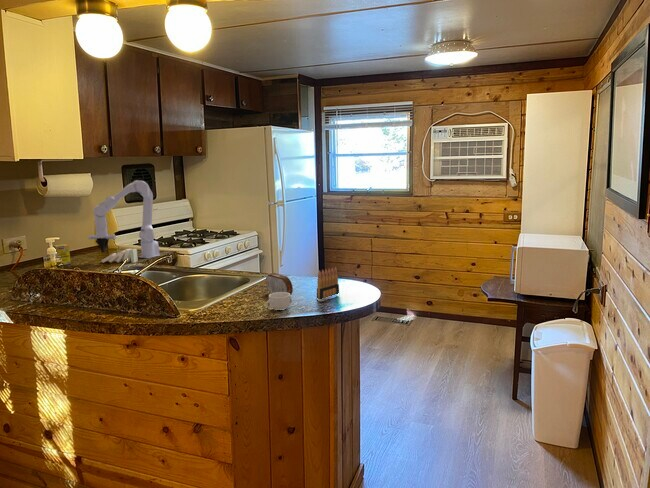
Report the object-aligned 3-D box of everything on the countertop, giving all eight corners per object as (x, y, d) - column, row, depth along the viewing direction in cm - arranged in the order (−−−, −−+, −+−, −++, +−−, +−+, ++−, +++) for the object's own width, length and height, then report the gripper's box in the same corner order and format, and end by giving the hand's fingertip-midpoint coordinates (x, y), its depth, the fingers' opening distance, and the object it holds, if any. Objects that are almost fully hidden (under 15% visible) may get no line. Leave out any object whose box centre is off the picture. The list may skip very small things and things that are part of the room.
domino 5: (131, 262, 268) (130, 250, 267) (134, 261, 272) (133, 248, 271) (134, 262, 268) (133, 250, 267) (137, 260, 272) (136, 248, 271)
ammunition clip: (320, 302, 183) (319, 270, 181) (316, 301, 184) (315, 270, 182) (339, 296, 191) (338, 266, 189) (335, 295, 192) (335, 265, 190)
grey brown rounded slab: (293, 298, 190) (293, 277, 188) (287, 299, 187) (286, 278, 186) (271, 291, 201) (270, 271, 199) (264, 292, 199) (264, 272, 197)
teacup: (281, 305, 181) (280, 290, 180) (295, 309, 175) (294, 294, 174) (259, 311, 173) (259, 296, 173) (274, 315, 168) (273, 300, 167)
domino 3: (115, 261, 268) (122, 250, 267) (119, 259, 273) (126, 249, 272) (118, 262, 268) (124, 252, 267) (122, 261, 273) (128, 251, 272)
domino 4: (123, 262, 268) (125, 249, 267) (127, 260, 273) (129, 248, 271) (126, 262, 268) (128, 250, 267) (129, 261, 273) (131, 249, 271)
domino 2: (108, 260, 268) (117, 252, 267) (112, 259, 273) (121, 251, 272) (110, 262, 268) (119, 255, 267) (114, 261, 273) (123, 253, 272)
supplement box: (59, 266, 260) (57, 246, 259) (54, 265, 264) (52, 245, 262) (71, 264, 265) (69, 244, 263) (65, 263, 269) (63, 244, 267)
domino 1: (101, 260, 268) (111, 254, 268) (105, 258, 273) (115, 252, 272) (102, 262, 269) (113, 256, 268) (106, 261, 273) (116, 255, 272)
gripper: (84, 228, 264) (86, 253, 266) (110, 228, 264) (112, 253, 266) (91, 227, 271) (93, 251, 273) (116, 226, 270) (118, 250, 273)
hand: (103, 252), depth 270 cm, fingers closed
